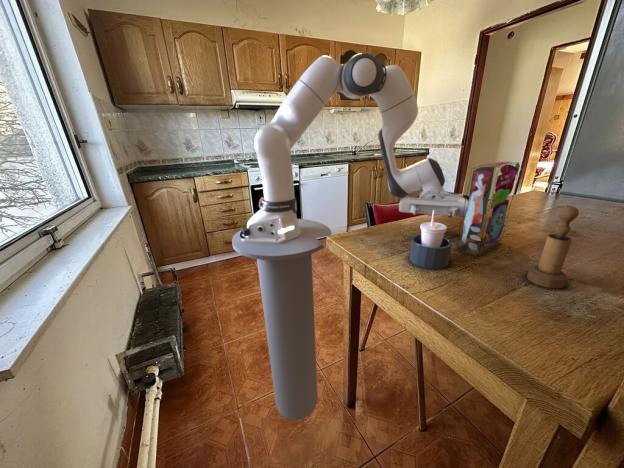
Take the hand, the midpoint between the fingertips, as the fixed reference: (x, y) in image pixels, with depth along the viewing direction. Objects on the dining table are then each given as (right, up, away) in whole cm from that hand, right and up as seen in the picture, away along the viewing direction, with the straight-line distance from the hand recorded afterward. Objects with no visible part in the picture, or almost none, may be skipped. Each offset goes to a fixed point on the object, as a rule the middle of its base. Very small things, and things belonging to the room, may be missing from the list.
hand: (433, 213), depth 75 cm
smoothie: (-3, -13, -4) cm, 14 cm away
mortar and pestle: (+19, -17, -15) cm, 30 cm away
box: (+19, -9, +6) cm, 22 cm away
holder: (-3, -13, -3) cm, 14 cm away
